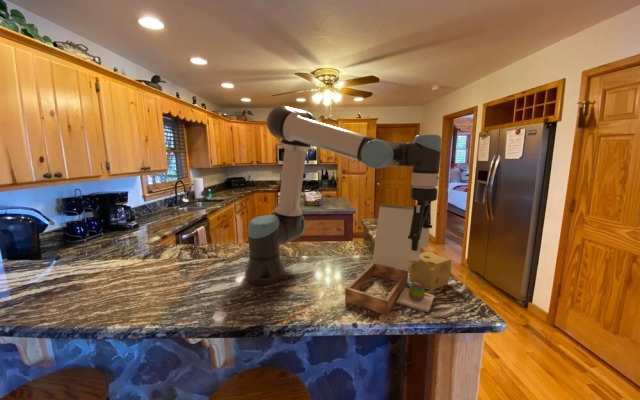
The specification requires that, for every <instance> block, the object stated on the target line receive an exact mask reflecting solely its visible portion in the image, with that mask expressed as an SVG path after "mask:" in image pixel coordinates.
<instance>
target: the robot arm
mask: <svg viewBox="0 0 640 400" xmlns="http://www.w3.org/2000/svg"><path fill="white" fill-rule="evenodd" d="M266 125H267V129H268V131H269V133H270V134H271V135H272V136H273V137H274V138H277V139H279V140H281V142H280V143H281V145H282V146H283V148H284V153H283V163H282V170H281V171H282V172H281V181H280V182H281V183H280V190H279V192H280V193H279V200H278V206H277V207H276V208H275V209H274V214H265V215H258V216H255V217H254V218H252V219H250V220H249V222H248V226H247V228H248V229H247V238H248V255H249V256H248V257H249V259H248V262H247V265H246V269H245V277H244V278H245V281H246V282H247V283H249V284H250V285H254V286H255V285H256V286H268V285H269V286H270V285H273V284H276V283H279V282H281V281H282V280H283V279H284V278H285V274H286V273H285V271H286V270H285V267H284V265H283V261H282V258H281V253H280V252H281V249H280V248H281V246H283V245H285V244H288V243H289V242H292V241H295V240H297V239H298V238H300V237H301V236H302V235H304V232H305V230H306V226H307V225H306V224H307V223H306V219H305V217H304V215H303V211H302V210H301V208H300V203H301V198H302V197H301V196H302V189H303V180H304V172H305V163H306V156H307V151H308V150H310V148H311V146H312V147H315V148H318V149H322V150H324V151H328V152H330V153H333V154H336V155H339V156H343V157H346V158H349V159H351V160H354V161H357V162H359V163H363V164H364V165H366V167H368V168H371V169H376V170H377V169H378V170H379V169H383V168H390V167H407V168H408V167H411V168H412V172H411V186H412V187H410V188H411V189H410V199H411V200H413V201H417V202H416V204H414V205H413V207H414V212H413V218H412V224H411V229H410V235H409V236H408V239H411V243H410V257H409V260H414V261H418V262H419V258H420V254H421V247H422V248H427V249H428V247H429V238H430V229H433V224H432V214H431V213H432V211H431V210H432V209H431V208H432V202H436V201H437V198H438V188H437V187H438V186H439V180H441V178H442V177H441V176H439V174H440V166H441V157H442V137H441V136H440V135H438V134H417V135H415V136H414V140H413V141H411V142H410V141H409V142H404V141H403V142H402V141H399V142H398V141H389V140H383V139H380V138H377V137H373V136H368V135H365V134H361V133H358V132H355V131H351V130H349V129H344V128H341V127H337V126H333V125H332V124H331V125H330V124H328V123H327V124H326V123H323V122H319V121H318V120H317V118H316V117H315V115H314V114H312V113H311V112H309V111H307V110H305V109H299V108H295V107H290V106H287V105H278V106H275V108H273V109H271V111H270V112H269V113H268V115H267V118H266Z"/></svg>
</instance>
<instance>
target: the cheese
mask: <svg viewBox="0 0 640 400" xmlns="http://www.w3.org/2000/svg"><path fill="white" fill-rule="evenodd" d="M451 271H452V259H450V258H448V257H445V256H441V255H438V254H436V253H434V252H431V251H424V252H420V258H419V262H418V261H414V260H410V263H409V280H410V281H413V283H414V282H420V283H421V284H422V286H423V287H424V289H426V290H428V291H430V292H431V291H433V290H435V289H439V288H441V287H444V286H445V287H446V286H448V284H449V280H450V276H451V274H452V273H451Z"/></svg>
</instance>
